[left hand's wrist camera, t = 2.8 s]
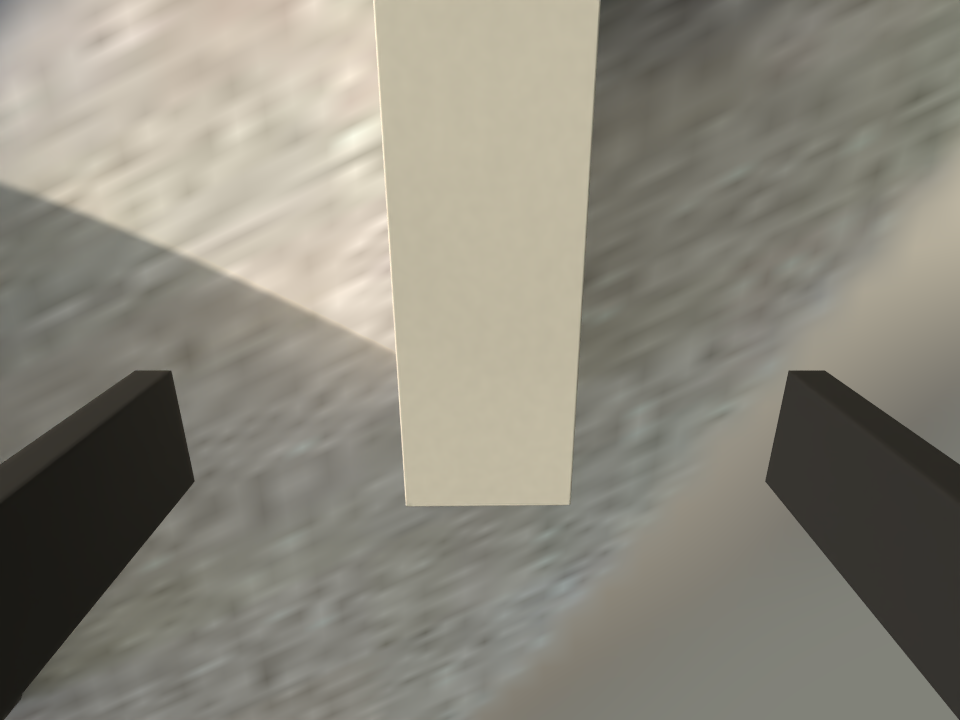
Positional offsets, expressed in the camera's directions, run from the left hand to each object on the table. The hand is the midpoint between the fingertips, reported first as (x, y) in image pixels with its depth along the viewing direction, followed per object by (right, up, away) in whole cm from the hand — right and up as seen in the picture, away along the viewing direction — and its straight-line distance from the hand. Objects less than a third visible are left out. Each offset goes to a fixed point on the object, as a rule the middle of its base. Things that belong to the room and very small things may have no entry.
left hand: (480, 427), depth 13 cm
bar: (0, +36, 0) cm, 36 cm away
